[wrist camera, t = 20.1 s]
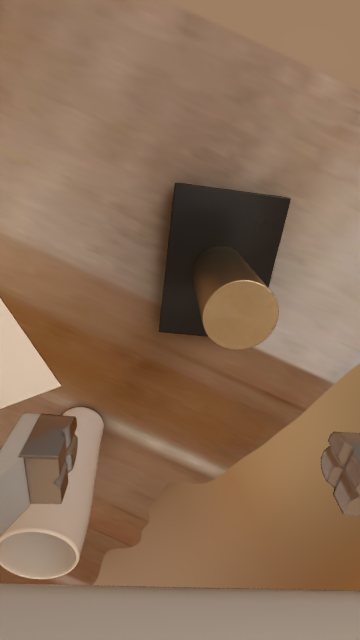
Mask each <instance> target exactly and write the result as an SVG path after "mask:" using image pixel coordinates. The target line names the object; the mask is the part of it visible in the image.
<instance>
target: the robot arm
mask: <svg viewBox="0 0 360 640" xmlns="http://www.w3.org/2000/svg"><path fill="white" fill-rule="evenodd" d="M76 428H77V418H76V417H75V416H63V415H51V414H35V413H24V414H23V415H22V416H21V417H20V419H19V420H18V422H17V424H16V425H15V427H14V429H13V430H12V432H11V434H10V435H9V437H8V439H7V440H6V442H5V444H4V445H3V447H2V449H1V450H0V536H1V535H2V534H3V533H4V532H5V531H6V530H7V529H8V528H9V527H10V526H11V525H12V524H13V523H14V522H15V521H16V520H17V519H18V518H19V517H20V516H21V515H22V514H23V513H24V512H25V511H26V510H27V509H28V508H29V507H30V504H62V501H63V498H64V495H65V492H66V489H67V486H68V473H69V472H70V471H71V470H73V467H74V463H75V460H76V454H77V447H78V437H77V436H76V435H75V431H76ZM328 442H329V444H330V446H329V447H328V448H326V449H325V450H324V451H323V454H322V457H321V469H322V473H323V475H324V477H325V479H326V481H327V482H328V483H329V484H330V485H331V486H333V487H334V492H333V495H334V497H335V499H336V501H337V503H338V505H339V507H340V509H341V511H342V513H343V515H349V516H360V433H351V432H333V433H332V434H331V435H330V437H329V439H328ZM0 640H360V591H349V590H348V591H347V590H300V589H298V590H296V589H249V588H196V587H195V588H194V587H193V588H192V587H145V586H143V587H142V586H95V585H45V584H0Z"/></svg>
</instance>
